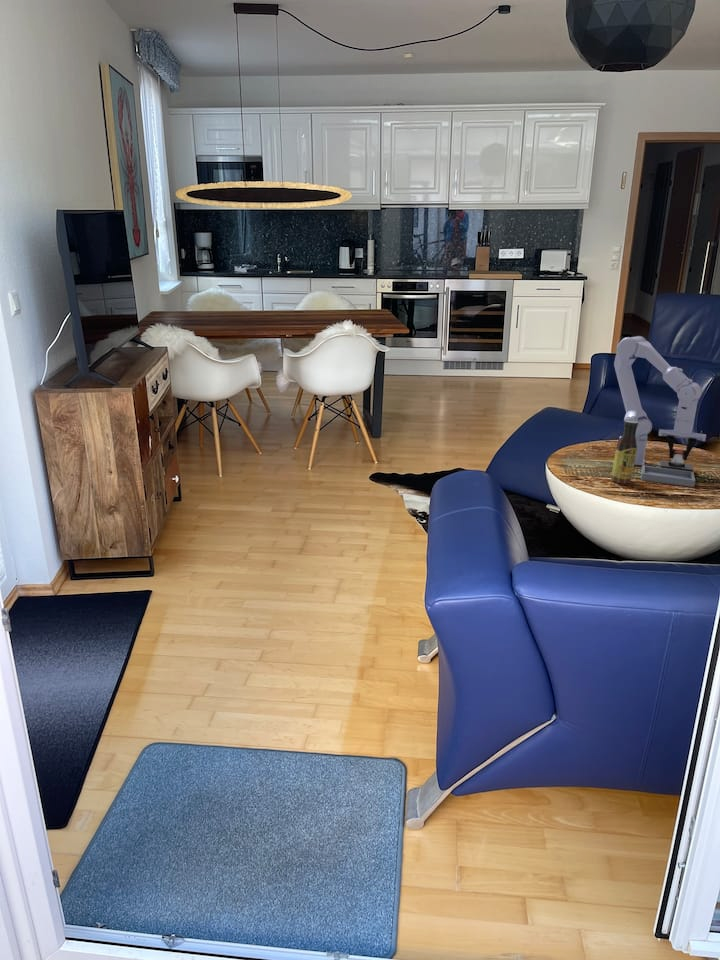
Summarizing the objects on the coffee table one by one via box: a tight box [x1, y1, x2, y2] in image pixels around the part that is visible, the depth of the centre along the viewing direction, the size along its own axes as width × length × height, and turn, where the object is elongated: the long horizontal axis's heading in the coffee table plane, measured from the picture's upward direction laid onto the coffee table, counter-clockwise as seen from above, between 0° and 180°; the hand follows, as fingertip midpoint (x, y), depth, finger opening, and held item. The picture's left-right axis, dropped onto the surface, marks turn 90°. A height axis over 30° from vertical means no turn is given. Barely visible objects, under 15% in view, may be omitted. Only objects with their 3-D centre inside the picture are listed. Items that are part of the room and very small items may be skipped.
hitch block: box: [659, 459, 694, 472], centre depth 247 cm, size 10×8×2 cm
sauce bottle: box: [610, 420, 638, 485], centre depth 230 cm, size 7×6×20 cm
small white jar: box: [670, 447, 686, 467], centre depth 246 cm, size 4×4×7 cm
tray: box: [640, 465, 696, 488], centre depth 238 cm, size 16×11×2 cm
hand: (677, 458), depth 246 cm, fingers closed on small white jar, 4 cm apart
